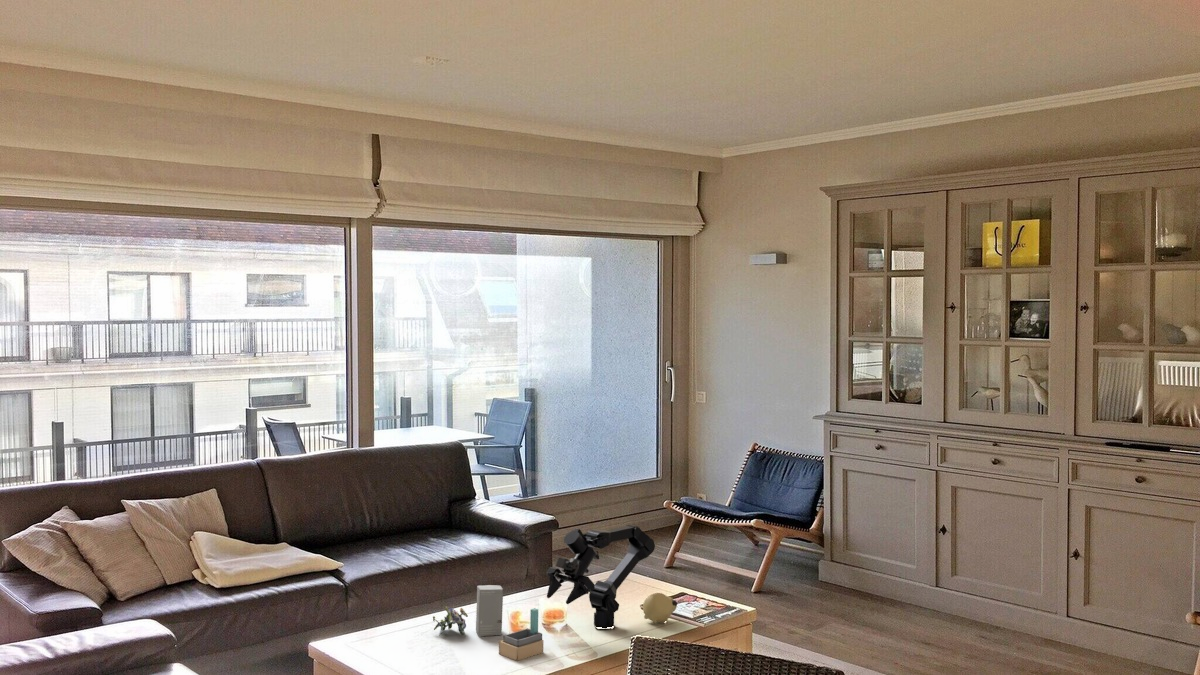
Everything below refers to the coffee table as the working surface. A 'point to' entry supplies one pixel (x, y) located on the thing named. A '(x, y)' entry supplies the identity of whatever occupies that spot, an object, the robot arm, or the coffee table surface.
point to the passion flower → (452, 620)
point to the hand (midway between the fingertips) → (557, 600)
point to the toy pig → (658, 607)
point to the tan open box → (520, 650)
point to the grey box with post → (525, 633)
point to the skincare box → (489, 610)
